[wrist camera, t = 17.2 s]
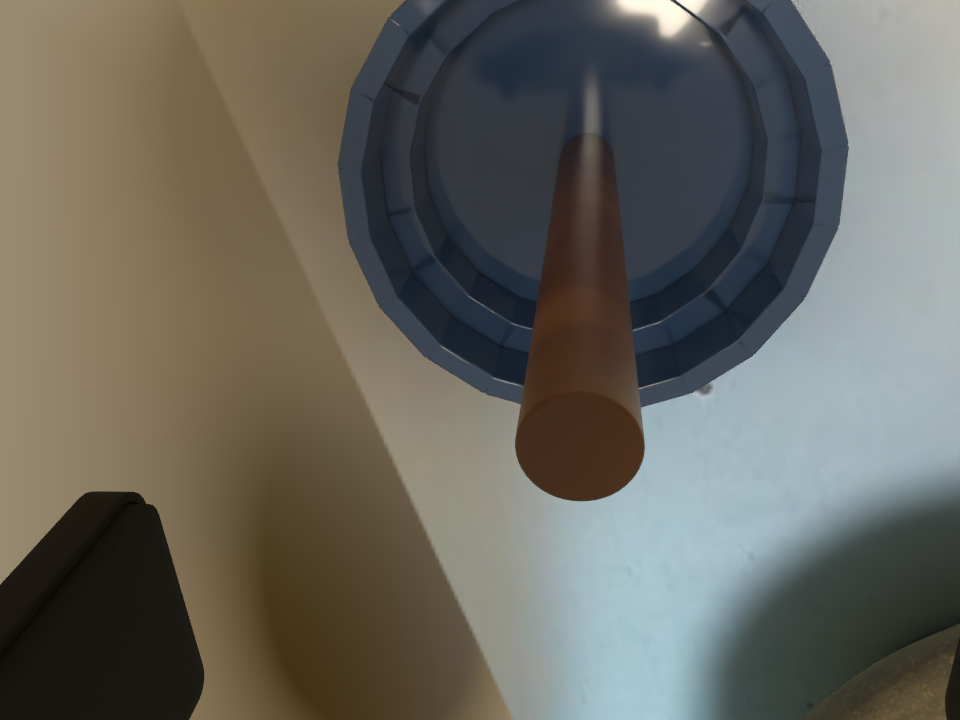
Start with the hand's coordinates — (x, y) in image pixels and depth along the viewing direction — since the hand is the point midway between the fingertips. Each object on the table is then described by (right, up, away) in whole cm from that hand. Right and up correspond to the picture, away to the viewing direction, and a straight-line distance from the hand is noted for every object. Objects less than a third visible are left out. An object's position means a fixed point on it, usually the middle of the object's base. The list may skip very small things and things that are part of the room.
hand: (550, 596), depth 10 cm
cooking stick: (+3, +10, +21) cm, 24 cm away
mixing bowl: (+3, +10, +22) cm, 24 cm away
